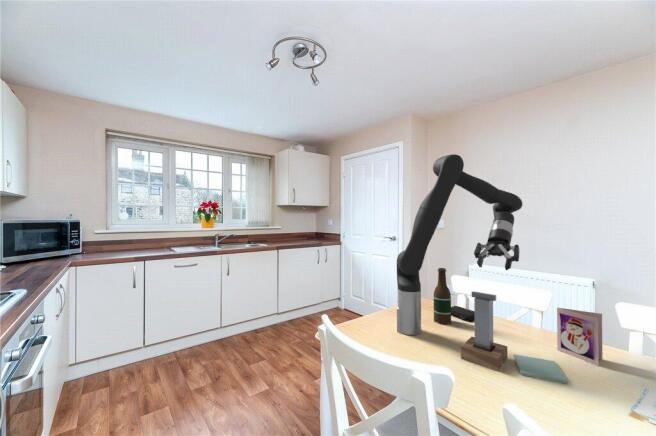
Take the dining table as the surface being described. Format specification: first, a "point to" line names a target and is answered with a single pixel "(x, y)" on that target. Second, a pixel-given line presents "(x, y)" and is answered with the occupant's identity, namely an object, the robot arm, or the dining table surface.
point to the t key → (483, 320)
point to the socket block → (484, 355)
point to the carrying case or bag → (463, 313)
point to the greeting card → (580, 334)
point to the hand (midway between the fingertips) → (492, 267)
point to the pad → (539, 368)
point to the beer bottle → (442, 299)
